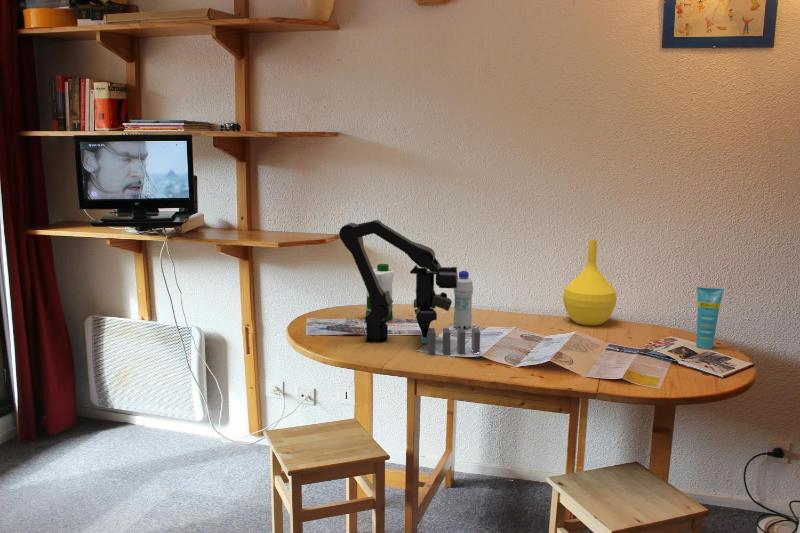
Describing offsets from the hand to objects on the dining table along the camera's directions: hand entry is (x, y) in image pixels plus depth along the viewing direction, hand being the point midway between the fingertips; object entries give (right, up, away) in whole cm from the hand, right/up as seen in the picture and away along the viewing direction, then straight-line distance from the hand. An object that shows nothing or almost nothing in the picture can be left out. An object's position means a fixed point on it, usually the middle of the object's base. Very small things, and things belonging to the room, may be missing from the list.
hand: (424, 334), depth 217 cm
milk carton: (-15, +2, +27) cm, 31 cm away
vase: (+60, +2, +25) cm, 65 cm away
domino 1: (0, -2, 0) cm, 2 cm away
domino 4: (+11, -4, -10) cm, 15 cm away
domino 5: (+15, -4, -10) cm, 19 cm away
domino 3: (+6, -4, -10) cm, 13 cm away
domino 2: (+2, -4, -10) cm, 11 cm away
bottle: (+14, +1, +18) cm, 22 cm away
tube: (+89, -4, -3) cm, 89 cm away
